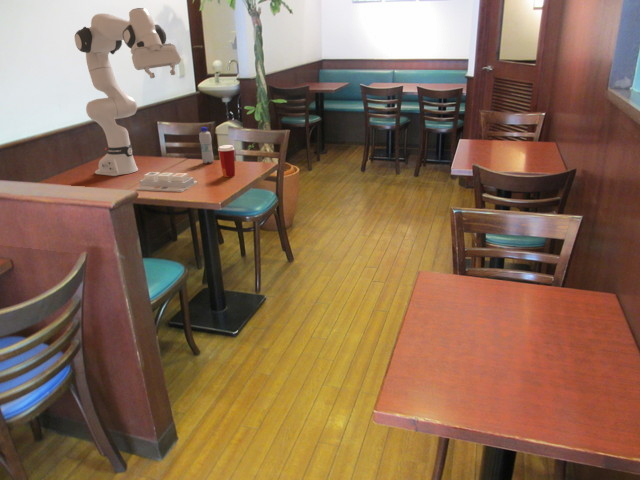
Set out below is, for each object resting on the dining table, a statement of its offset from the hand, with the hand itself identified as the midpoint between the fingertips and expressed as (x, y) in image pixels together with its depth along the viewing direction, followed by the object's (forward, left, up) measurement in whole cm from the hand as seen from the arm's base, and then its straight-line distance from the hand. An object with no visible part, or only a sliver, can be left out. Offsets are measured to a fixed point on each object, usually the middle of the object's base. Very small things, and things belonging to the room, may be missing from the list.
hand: (163, 76), depth 219 cm
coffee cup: (+12, +27, -51) cm, 59 cm away
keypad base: (-10, +5, -51) cm, 52 cm away
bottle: (-12, +51, -51) cm, 73 cm away
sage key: (-10, +5, -48) cm, 49 cm away
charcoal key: (-17, +5, -48) cm, 51 cm away
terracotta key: (-2, +5, -48) cm, 48 cm away
